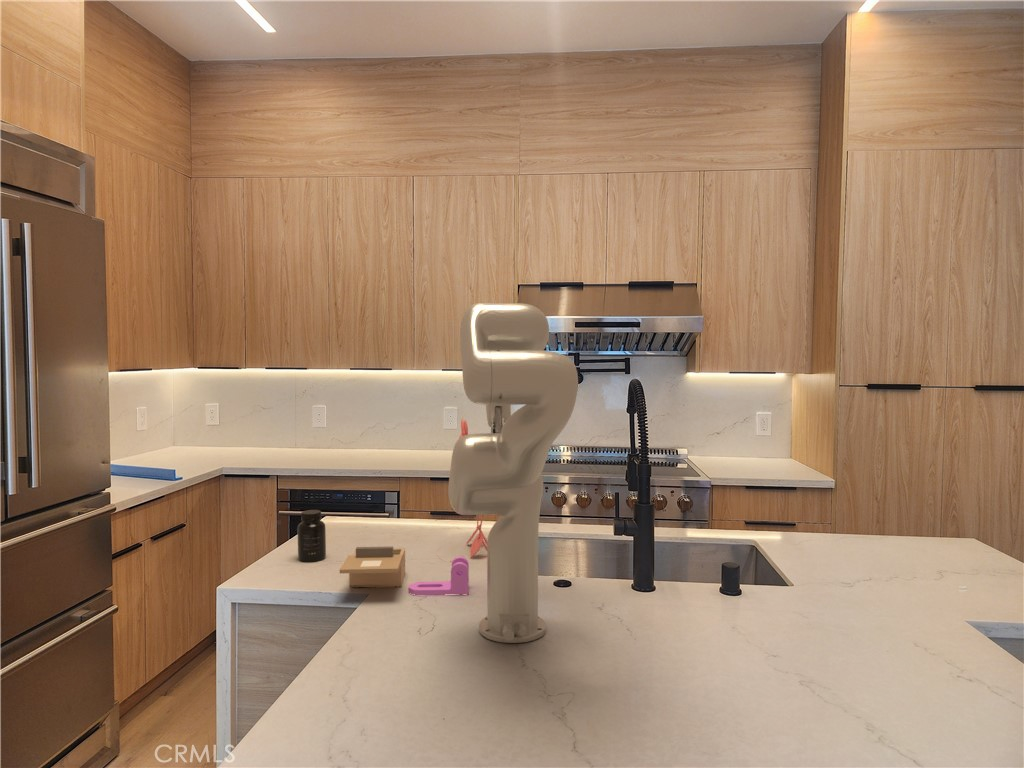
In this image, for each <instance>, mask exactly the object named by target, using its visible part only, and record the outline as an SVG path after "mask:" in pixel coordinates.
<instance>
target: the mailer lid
mask: <svg viewBox="0 0 1024 768" xmlns="http://www.w3.org/2000/svg"><path fill="white" fill-rule="evenodd" d="M393 549H394V546H356V548H355V550H356V555H353V554H352V555H350V554H349V555H347V556H346V558H345V560H344V561H343V563H342V565H341V567H340V568H339V574H349V573H392V572H398V571H399V568H400V565H401V562H402V559H403V555H393Z"/></svg>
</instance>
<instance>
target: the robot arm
mask: <svg viewBox="0 0 1024 768" xmlns="http://www.w3.org/2000/svg"><path fill="white" fill-rule="evenodd" d="M549 337H550V325H549V321H548V318H547V316H546V315H545V313H543V311H542V310H540V309H539V308H538V307H536V306H534V305H532V304H529V303H519V302H517V303H516V302H515V303H514V302H513V303H512V302H510V303H509V302H508V303H507V302H501V303H500V302H480V303H479V302H478V303H473V304H471V305H469V306H468V307H467V309H465V311H464V313H463V315H462V318H461V323H460V330H459V341H460V343H459V344H460V355H461V356H460V357H461V367H462V368H461V370H462V383H463V384H462V385H463V389H464V393H465V395H466V397H467V399H468V400H469V401H470V402H472V403H474V404H476V405H482V406H485V410H486V420H487V426H488V427H489V428H490V433H487V432H486V433H470V434H469V433H468V435H465V436H463V437H461V438H460V439H459V438H458V439H457V440H456V442H455V444H454V446H453V451H452V454H451V462H450V468H449V469H450V470H449V478H448V487H447V488H448V489H447V490H448V491H447V492H448V500H449V504H450V506H451V508H452V510H453V511H454V512H455V513H456V514H458V515H461V516H477V515H479V516H482V515H483V516H488V515H489V516H490V515H493V516H494V515H496V516H499V517H498V518H497V520H496V521H495V523H494V524H493V525H492V527H491V529H490V531H489V532H488V536H487V538H488V539H486V540H487V544H486V546H487V551H486V553H487V554H486V555H487V557H486V558H487V561H486V565H487V566H486V567H487V568H486V569H487V570H486V573H487V576H486V577H487V579H486V580H487V583H486V584H487V587H486V589H487V591H486V592H487V593H486V594H487V596H486V597H487V599H486V600H487V601H486V602H487V606H486V607H487V609H486V611H487V612H486V613H487V614H486V615H487V616H485V617H484V618H482V619H481V620H480V621H479V624H478V627H479V628H478V630H479V631H478V632H479V633H480V635H481V636H483V637H484V638H486V639H488V640H490V641H494V642H498V643H504V644H521V643H527V642H531V641H532V642H533V641H535V640H538V639H539V638H542V637H543V636H544V635H545V634H546V632H547V623H546V621H545V619H543V618H542V617H540V616H539V524H540V513H541V506H542V499H543V493H544V479H543V475H542V472H543V470H544V469H545V466H546V462H547V459H548V456H549V454H550V451H551V448H552V445H553V443H554V442H555V441H556V439H557V438H558V437H559V435H560V434H561V433H562V431H563V430H564V429H565V428H566V425H567V424H568V422H569V421H570V418H571V416H572V415H573V411H574V408H575V406H576V401H577V395H578V387H579V376H578V375H579V374H578V370H577V367H576V364H575V363H574V362H573V360H572V359H570V358H569V357H568V356H567V355H564V354H562V353H559V352H557V351H551V350H545V349H546V347H547V345H548V341H549ZM513 405H515V406H516V405H517V406H519V405H520V406H521V407H520V408H518V409H517V410H516V411H514V412H513V413H512V412H511V411H512V410H511V409H512V406H513ZM522 405H523V406H522Z"/></svg>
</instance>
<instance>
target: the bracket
mask: <svg viewBox="0 0 1024 768" xmlns="http://www.w3.org/2000/svg"><path fill="white" fill-rule="evenodd" d="M469 564H470V563H469V561H468V559H467V558H465V556H461V555H460V556H456V557H454V559H453V560H452V561H451V568H450V580H444V581H437V580H435V581H434V580H433V581H417V582H416V581H415V582H412V583H410V584H409V585H408V594H409V593H411V594H415V595H445V594H468V595H469V591H470V590H469V586H470V585H469V583H470V581H469V579H470V578H469V577H470V576H469V575H470V573H469V572H470V571H469V569H470V567H469V566H470V565H469ZM468 590H469V591H468ZM411 594H410V595H411Z"/></svg>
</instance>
